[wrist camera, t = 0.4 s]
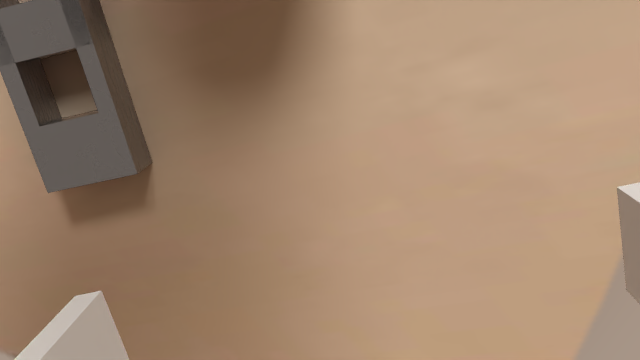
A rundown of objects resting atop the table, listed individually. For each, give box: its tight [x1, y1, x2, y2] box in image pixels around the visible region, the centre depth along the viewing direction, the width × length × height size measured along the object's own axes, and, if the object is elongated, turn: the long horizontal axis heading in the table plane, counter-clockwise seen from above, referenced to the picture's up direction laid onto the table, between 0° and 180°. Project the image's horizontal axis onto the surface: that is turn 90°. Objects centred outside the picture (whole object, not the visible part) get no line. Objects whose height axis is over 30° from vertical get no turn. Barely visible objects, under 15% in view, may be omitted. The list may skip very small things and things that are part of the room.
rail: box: [0, 0, 152, 193], centre depth 38 cm, size 22×7×3 cm, turn 13°
